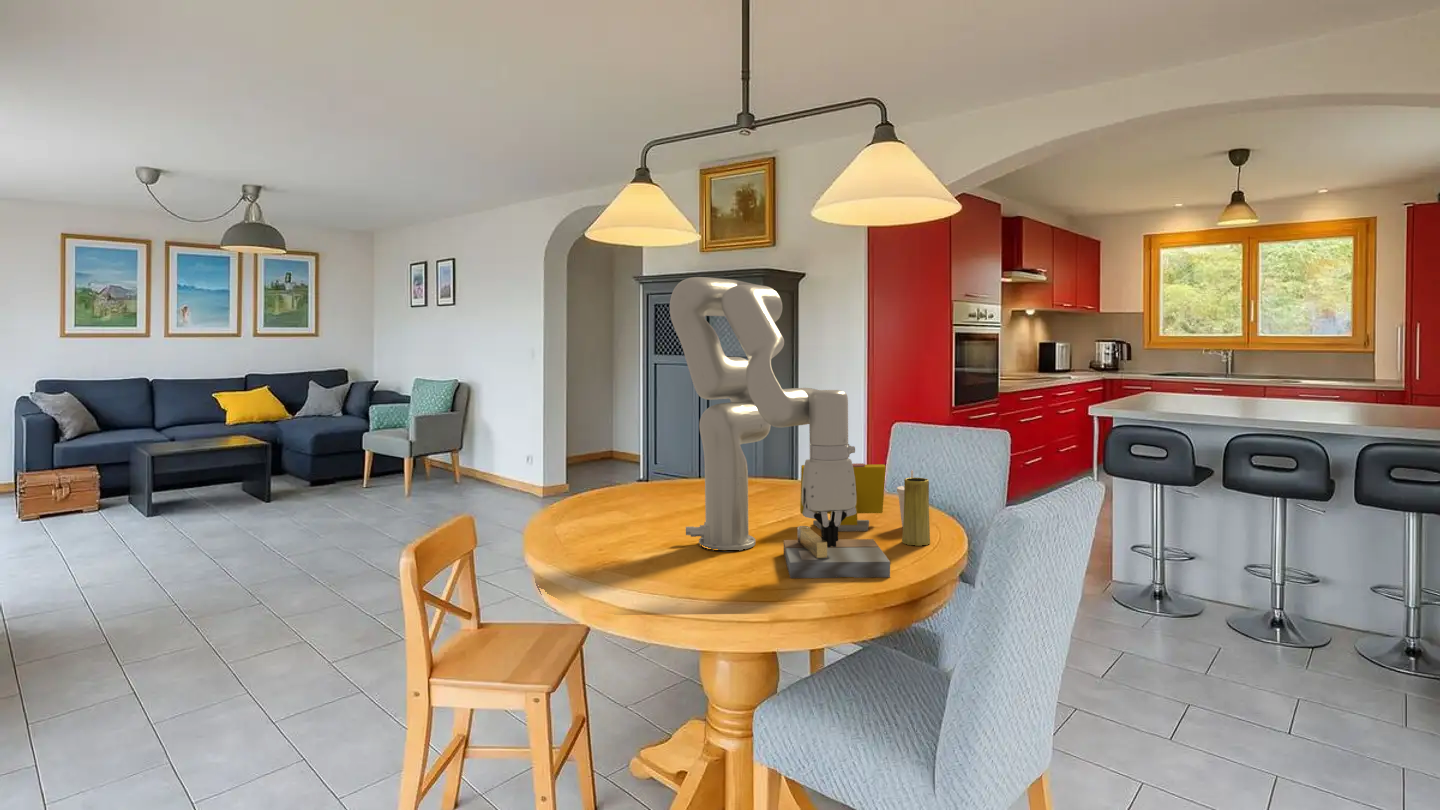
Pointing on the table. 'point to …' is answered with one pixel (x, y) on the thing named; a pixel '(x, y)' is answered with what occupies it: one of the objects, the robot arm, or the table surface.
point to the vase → (916, 512)
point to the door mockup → (837, 560)
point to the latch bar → (812, 542)
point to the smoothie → (902, 498)
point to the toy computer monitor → (861, 495)
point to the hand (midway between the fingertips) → (829, 545)
